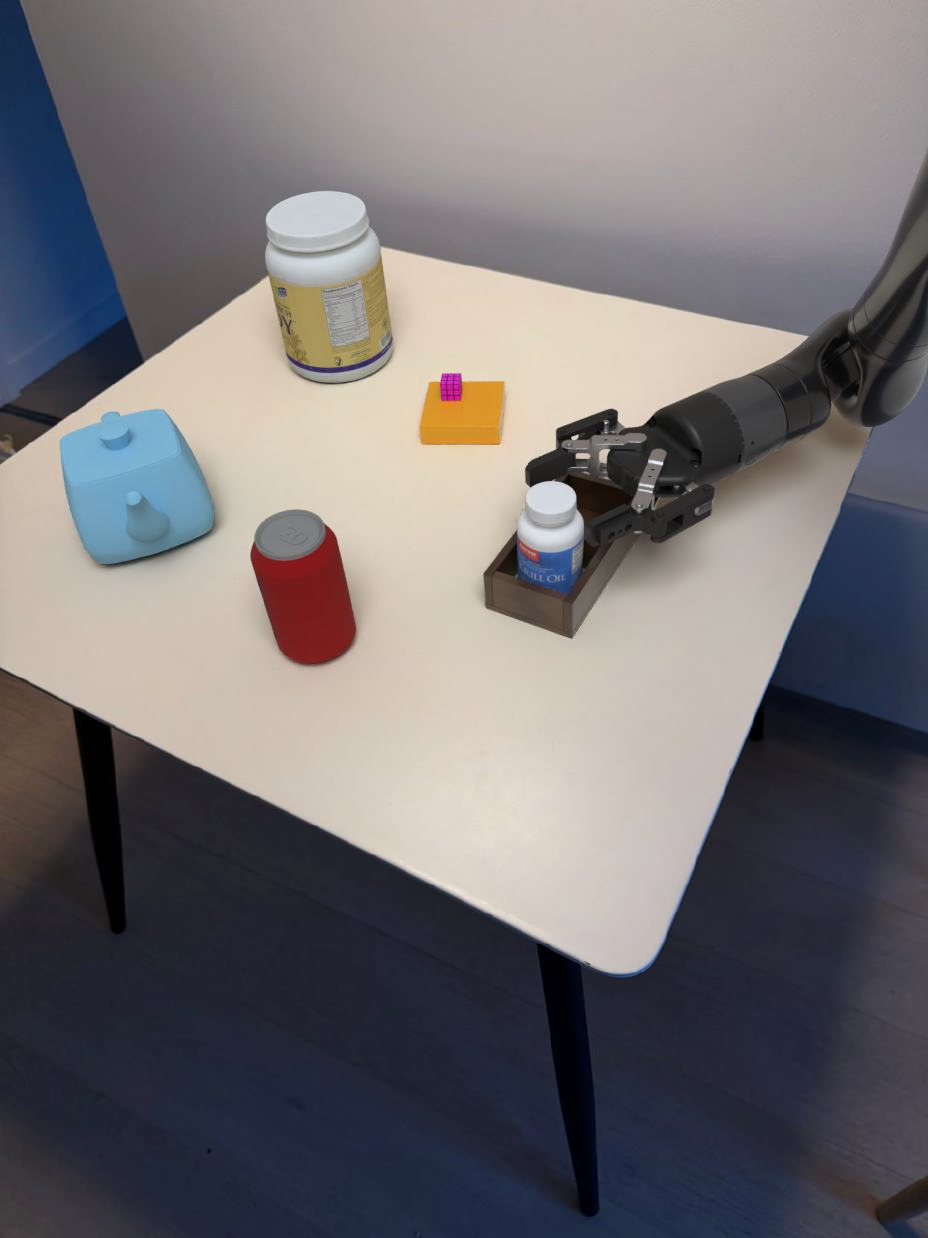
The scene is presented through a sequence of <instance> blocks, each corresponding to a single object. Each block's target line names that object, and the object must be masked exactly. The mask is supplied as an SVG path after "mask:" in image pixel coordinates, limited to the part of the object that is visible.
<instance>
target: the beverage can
mask: <svg viewBox="0 0 928 1238" xmlns="http://www.w3.org/2000/svg"><path fill="white" fill-rule="evenodd" d="M253 538H254V540H253V543H252V545H251V548H250V554H249V557H250V562H251V566H252V569H253V573H254V575H255V580H256V582H257V586H258V589H259V593H260V595H261V598H262V602H263V605H264V608H265V612H266V615H267V618H268V620H269V624H270V627H271V630H272V633H273V636H274V639H275V642H276V645H277V647H278V649H279V651H280V652H281V653H282V654H283V655H284V656H285V657H286V658H288V659H290V660H292V661H295V662H297V663H302V664H303V663H304V664H317V663H322V662H326V661H330V660H331V659H332V660H333V659H334V658H337V656H339V655H341V654H342V653H343V652H344V651H346V650H347V649H348V648H349V647H350V645H352V643H353V641H354V639H355V636H356V632H357V625H356V624H357V623H356V619H355V615H354V614H355V613H354V609H353V603H352V600H351V594H350V590H349V586H348V581H347V577H346V572H345V568H344V563H343V559H342V555H341V551H340V546H339V541H338V539H337V536H336V533H335V532H334V531H333V529H332V528H331V527H330V526H328V525H327V524H326V523H325V522H324V521H323V519H322V518H321V516H319V515H318V514H317V513H314V512H313V511H310V510H306V509H297V508H295V509H293V508H292V509H286V510H282V511H279V512H276V513H274V514H272V515H270V516H268V517H267V518H265V519H264V520H263V521H262V522H261V523H260V524H259V525H258V527H256V529H255V532H254V537H253Z"/></svg>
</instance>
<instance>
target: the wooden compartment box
mask: <svg viewBox="0 0 928 1238" xmlns="http://www.w3.org/2000/svg"><path fill="white" fill-rule="evenodd" d="M553 481H556V482H561V483H564V484H566V485H568V486H570V487H571V488H572V489H573V490H574V492H575V494H576V506H577V510H578V511H579V512H580V514H581V516H582V518H583V521H584V540H583V563H582V575H581V576H580V578H579V579H578V580H577V582H576V583H575V585H574V586H573V588H572V589H571V591H570V592H569V594H568V595H566V594H563V593H560V592H557V591H554V590H551V589H549V588H546V587H543V586H540V585H537V584H534V583H531V582H528V581H525V580H522V579H519V578H518V555H517V529H516V530H515V531H514V533H513V534H512V535H511V537H510V538H509V539H508V540H507V542H506V543H505V544H504V546H503V547H502V548H501V549H500V551H499V552H498V554H497V555H496V556H495V558H493V559H492V562H491V563H490V564H489V565H488V566H487V568H486V569H485V571H484V572H483V573H482V575H483V591H484V600H485V602H484V603H485V604H484V605H485V608H486V609H487V610H489V611H493V612H496V613H499V614H501V615H504V616H508V617H510V618H513V619H515V620H519V621H521V622H523V623H527V624H529V625H532V626H535V627H538V628H541V629H544V630H546V631H550V632H551V633H552V632H553V633H554V634H558V635H561V636H563V637H566V638H569V639H573V638H574V637H575V635H576V633H577V632H578V630H579V629H580V628H581V625H583V623H584V621H585V619H586V618H587V616H588V615H589V613H590V611H591V610H592V608H593V607H594V606H595V604H596V602H597V601H598V599H599V597H600V596H601V595H602V593H603V592H604V590H605V589H606V587H607V585H608V584H609V583H610V581H611V579H612V578H613V576H614V575H615V573H616V571H617V570H618V569H619V567H620V565H621V564H622V562H623V560H624V559H625V557H626V556H627V554H628V553H629V551H630V550H631V548H632V547H633V545H634V544H635V542H636V540H638V537H639V536H640V534H641V533H633V532H632V533H629V534H627V535H625V536H623V537H621V538H619V539H617V540H615V541H613V542H611V543H609V544H605V545H600V544H598V545H596V546H591V545H590V544H589V543H588V542H587V541H586V540H585V527H586V524H587V522H588V521H590V520H591V519H593V518H596V517H598V516H600V515H602V514H604V513H606V512H608V511H611V510H613V509H615V508H617V507H619V506H621V505H623V504H626V505H627V506H628V507H631V504H632V502H633V499H634V497H635V496H631V497H630V496H629V495H627V494H626V493H625V492H624V490H623V489H622V487H621V486H620V485H618V484H616V483H614V482H612V481H611V480H610V479H609V478H608V479H607V478H605V477H593V476H591V475H590V474H589V473H588V472H567V474H566V475H564V476H562V477H560V478H557V479H555V480H553Z"/></svg>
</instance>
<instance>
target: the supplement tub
mask: <svg viewBox="0 0 928 1238" xmlns="http://www.w3.org/2000/svg"><path fill="white" fill-rule="evenodd" d="M265 226H266V237H267V239H268V242H267V244H266V247H265V252H264V260H265V267H266V270H267V274H268V279H269V282H270V283H269V284H270V287H271V293H272V297H273V302H274V306H275V311H276V314H277V319H278V324H279V328H280V333H281V338H282V342H283V346H284V350H285V355H286V356H285V357H286V359H287V361H288V363H289V365H290V366H291V368H292V369H293V370H294V371H295V372H296V373H297V374H299V375H300V376H302V377H303V378H305V379H307V380H310V381H314V382H319V383H328V384H329V383H330V384H331V383H333V384H334V383H336V384H337V383H346V382H347V383H348V382H352V381H356V380H360V379H363V378H365V377H368V376H369V375H371V374H374V373H375V372H377V371H378V370H379V369H381V368H382V367H383V366H384V365H385V364H386V363H387V362H388V361H389V359H390V358H391V355H392V353H393V349H394V337H393V332H392V325H391V317H390V316H391V315H390V310H389V303H388V294H387V288H386V280H385V272H384V271H385V270H384V265H383V258H382V257H383V256H382V247H381V244H380V239H379V238H378V235H377V234H376V232H375V231H374V229H373V228H372V227H371V226H370V219H369V216H368V213H367V208H366V205H365V203H364V201H363V200H362V199H361V198H359V197H357V196H356V195H354V194H351V193H348V192H344V191H335V190H320V191H310V192H305V193H300V194H296V195H294V196H291V197H288V198H286V199H284V200H282V201H280V202H278V203H277V204H275V205H274V206H273V207H271V209H270V210H269V211H268V212H267V213H266V216H265Z"/></svg>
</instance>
